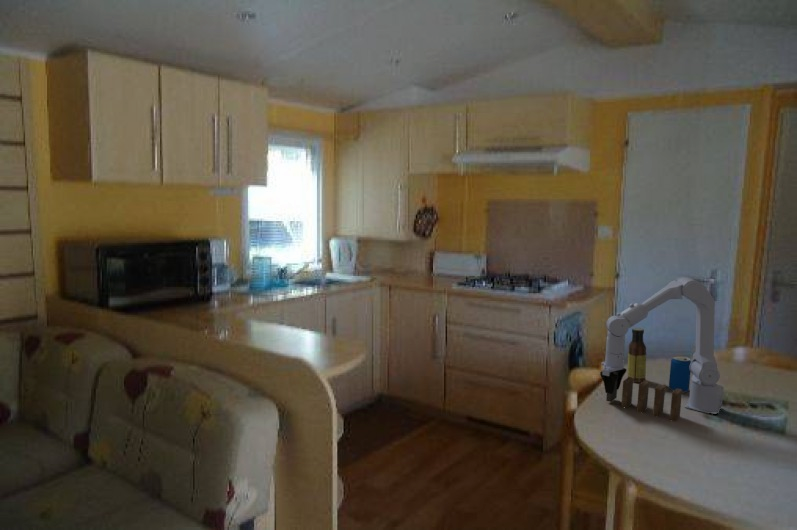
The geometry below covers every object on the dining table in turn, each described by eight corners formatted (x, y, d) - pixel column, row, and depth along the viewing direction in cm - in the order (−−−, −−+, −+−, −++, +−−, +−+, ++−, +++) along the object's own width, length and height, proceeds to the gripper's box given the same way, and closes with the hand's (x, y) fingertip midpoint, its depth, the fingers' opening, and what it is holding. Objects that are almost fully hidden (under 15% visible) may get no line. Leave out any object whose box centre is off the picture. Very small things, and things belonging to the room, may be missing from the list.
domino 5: (679, 416, 179) (682, 389, 177) (675, 421, 175) (677, 393, 174) (674, 415, 180) (676, 388, 178) (669, 420, 176) (672, 392, 175)
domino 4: (663, 412, 182) (665, 385, 181) (658, 417, 178) (660, 389, 177) (657, 410, 183) (660, 384, 182) (653, 415, 179) (655, 388, 178)
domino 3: (647, 408, 185) (649, 381, 184) (641, 412, 181) (644, 386, 180) (642, 406, 186) (644, 380, 185) (636, 411, 182) (638, 384, 181)
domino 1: (616, 397, 191) (618, 372, 190) (611, 401, 188) (612, 376, 186) (611, 396, 192) (613, 371, 191) (606, 400, 189) (608, 375, 187)
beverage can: (691, 394, 198) (694, 361, 196) (671, 392, 199) (674, 360, 197) (685, 387, 204) (688, 356, 202) (666, 386, 205) (669, 354, 203)
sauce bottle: (646, 379, 212) (650, 328, 209) (643, 384, 207) (647, 332, 204) (627, 376, 215) (631, 325, 212) (624, 381, 210) (628, 329, 207)
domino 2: (631, 404, 188) (633, 378, 187) (626, 408, 185) (628, 382, 183) (626, 402, 189) (628, 377, 188) (621, 407, 186) (623, 381, 184)
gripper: (611, 345, 196) (608, 382, 198) (594, 354, 185) (591, 393, 187) (631, 349, 191) (628, 387, 193) (616, 359, 180) (613, 399, 182)
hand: (612, 391), depth 190 cm, fingers closed on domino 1, 5 cm apart
